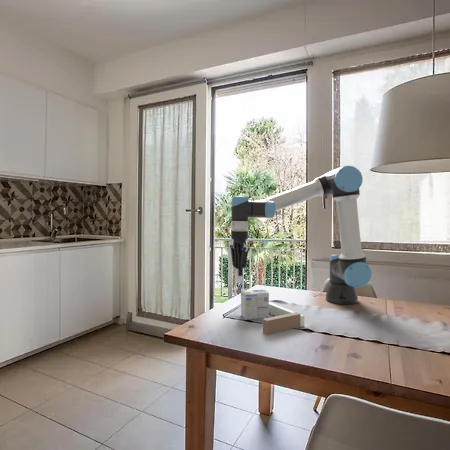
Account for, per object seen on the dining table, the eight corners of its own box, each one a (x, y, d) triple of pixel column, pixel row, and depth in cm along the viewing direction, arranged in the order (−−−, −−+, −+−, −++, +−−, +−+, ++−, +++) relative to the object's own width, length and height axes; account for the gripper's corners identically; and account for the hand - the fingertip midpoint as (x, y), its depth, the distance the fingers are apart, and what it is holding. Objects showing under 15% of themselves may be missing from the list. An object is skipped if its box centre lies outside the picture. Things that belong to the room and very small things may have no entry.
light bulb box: (263, 313, 143) (263, 288, 143) (269, 318, 136) (269, 292, 136) (240, 315, 140) (240, 290, 140) (244, 320, 134) (245, 293, 133)
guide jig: (266, 309, 148) (266, 298, 148) (304, 325, 127) (304, 313, 127) (232, 316, 139) (232, 304, 139) (266, 334, 118) (267, 320, 118)
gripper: (225, 229, 151) (224, 280, 152) (240, 231, 140) (239, 286, 141) (238, 229, 155) (238, 279, 156) (254, 231, 144) (253, 284, 145)
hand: (238, 282), depth 148 cm, fingers closed
